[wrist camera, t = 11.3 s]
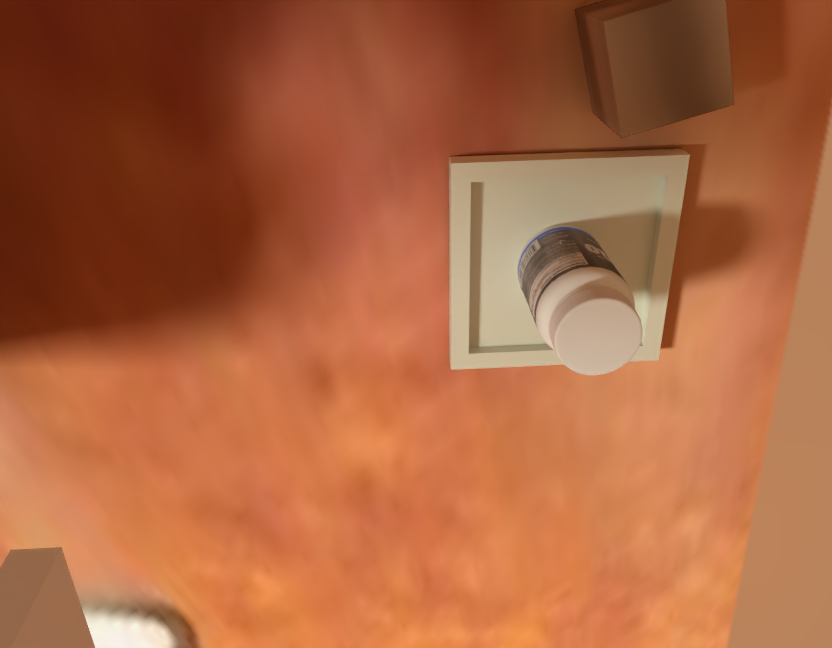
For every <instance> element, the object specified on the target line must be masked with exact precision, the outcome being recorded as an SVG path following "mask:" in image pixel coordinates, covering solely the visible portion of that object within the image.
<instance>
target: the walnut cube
mask: <svg viewBox="0 0 832 648" xmlns="http://www.w3.org/2000/svg"><path fill="white" fill-rule="evenodd" d="M575 13H576V19H577V25H578V31H579V36H580V42H581V48H582V54H583V59H584V65H585V71H586V77H587V83H588V88H589V94H590V100H591V106H592V111H593V114H594V115H596V116H597V117H598V118H599V119H600V120H601V121H603V122H604V123H605V124H606V125H607V126H608V127H609V128H611V129H612V130H613V131H614V132H615V133H616V134H617V135H619V136H620V137H621V138H624V137H627V136H631V135H634V134H637V133H641V132H644V131H647V130H651V129H654V128H658V127H661V126H664V125H668V124H671V123H674V122H678V121H681V120H685V119H688V118H691V117H695V116H698V115H701V114H705V113H708V112H712V111H715V110H718V109H722V108H725V107H728V106H732V105H734V95H733V83H732V70H731V58H730V46H729V33H728V21H727V8H726V0H604V1H601V2H597V3H594V4H591V5H588V6H585V7H581V8H578V9H575Z"/></svg>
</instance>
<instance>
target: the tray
mask: <svg viewBox="0 0 832 648" xmlns="http://www.w3.org/2000/svg"><path fill="white" fill-rule="evenodd" d="M689 159H690V154H688V153H687V152H686V151H684V150H683V149H682V148H678V149H650V150H622V151H594V152H566V153H538V154H510V155H483V156H455V157H449V360H450V366H451V370H455V369H477V368H499V367H521V366H543V365H564V364H563V363H562V362H561V360H560V359H559V358H558V356H557V354H556V352H555V350H553V349H552V348H551V347H550V346H548V344H547V343H546V342H545V341H544V340H543V338H542V337H541V335H540V333H539V331H538V329H537V327H536V324H535V322H534V319H533V316H532V314H531V311H530V308H529V306H528V303H527V301H526V299H525V296H524V293H523V291H522V290H521V286H520V283H519V280H518V275H517V262H518V258H519V255H520V253H521V251H522V249H523V247H524V246H525V244H526V243H527V242H528V241H529V240H530V239H531V238H532V237H533V236H534V235H536V234H537V233H539V232H540V231H543V230H545V229H547V228H550V227H553V226H558V225H570V226H575V227H578V228H581V229H583V230H585V231H587V232H588V233H589V234H591V235H592V236H593V237H594V238H595V240H596V241H597V242H598V243H599V245H600V246H601V248H602V249H603V251H604V252H605V253H606V254H607V256H608V257H609V258H610V260H611V262H612V263H613V264H614V266H615V267H616V269H617V270H618V272H619V273H620V274H621V276H622V277H623V278H624V280H625V281H626V282H627V284H628V285H629V287H630V289H631V292H632V294H633V297H634V302H635V310H636V312H637V314H638V315H639V317H640V320H641V323H642V340H641V343H640V346H639V348H638V350H637V352H636V353H635V355H634V356H633V357H632V358H631V359H630V360H629V361H628V362H631V361H653V360H659V354H660V347H661V341H662V334H663V328H664V321H665V315H666V308H667V302H668V295H669V289H670V282H671V276H672V269H673V263H674V256H675V250H676V243H677V237H678V230H679V224H680V218H681V211H682V205H683V198H684V192H685V185H686V179H687V172H688V166H689Z"/></svg>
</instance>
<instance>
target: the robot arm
mask: <svg viewBox="0 0 832 648" xmlns="http://www.w3.org/2000/svg"><path fill="white" fill-rule="evenodd" d="M0 648H95V646H94V643H93V640H92V637H91V634H90V631H89V628H88V625H87V622H86V619H85V616H84V613H83V610H82V607H81V604H80V601H79V598H78V595H77V592H76V590H75V587H74V584H73V581H72V578H71V575H70V572H69V569H68V566H67V563H66V560H65V557H64V554H63V551H62V548H61V547H58V548H39V549H19V550H10V552H9V554H8V556H7V557H6V559H5V561H4V563H3V564H2V566H1V568H0Z"/></svg>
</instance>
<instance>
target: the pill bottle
mask: <svg viewBox="0 0 832 648" xmlns="http://www.w3.org/2000/svg"><path fill="white" fill-rule="evenodd" d="M517 275H518V280H519V283H520V286H521V290H522V291H523V293H524V296H525V299H526V301H527V303H528V306H529V308H530V311H531V314H532V316H533V319H534V322H535V324H536V327H537V329H538V331H539V333H540V335H541V337H542V338H543V340H544V341H545V342H546V343H547V344H548V346H550V347H551V348H552V349H553V350H555V352H556V354H557V356H558V358H559V359H560V360H561V362H562V363H563V364H564V365H565V366H566V367H568V368H569V369H571V370H573V371H575V372H577V373H580V374H585V375H601V374H606V373H609V372H612V371H615V370H617V369H619V368H620V367H622V366H623V365H625V364H626V363H627V362H628V361H629V360H630V359H631V358H632V357H633V356H634V355H635V353H636V352H637V350H638V348H639V346H640V343H641V340H642V323H641V320H640V317H639V315H638V314H637V312H636V310H635V302H634V297H633V294H632V292H631V289H630V287H629V285H628V284H627V282H626V281H625V280H624V278H623V277H622V276H621V274H620V273H619V272H618V270H617V269H616V267H615V266H614V264H613V263H612V262H611V260H610V258H609V257H608V256H607V254H606V253H605V252H604V251H603V249H602V248H601V246H600V245H599V243H598V242H597V241H596V240H595V238H594V237H593V236H592V235H591V234H589V233H588V232H587V231H585V230H583V229H581V228H578V227H575V226H570V225H558V226H553V227H550V228H547V229H545V230H543V231H540V232H539V233H537V234H536V235H534V236H533V237H532V238H531V239H530V240H529V241H528V242H527V243H526V244H525V246H524V247H523V249H522V251H521V253H520V255H519V258H518V262H517Z"/></svg>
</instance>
